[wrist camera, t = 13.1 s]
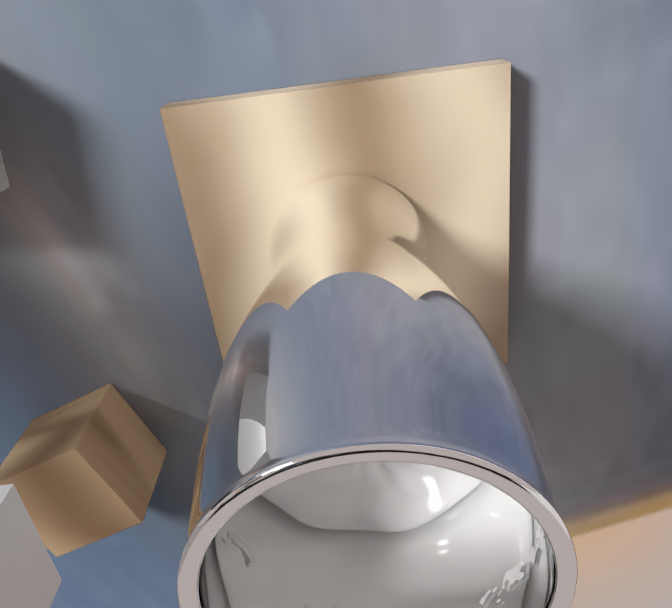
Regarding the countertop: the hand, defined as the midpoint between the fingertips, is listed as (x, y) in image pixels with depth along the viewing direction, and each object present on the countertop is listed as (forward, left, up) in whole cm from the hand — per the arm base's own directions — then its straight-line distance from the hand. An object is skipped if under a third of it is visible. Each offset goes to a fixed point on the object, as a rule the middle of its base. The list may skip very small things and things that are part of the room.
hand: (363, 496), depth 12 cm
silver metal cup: (0, 0, -13) cm, 13 cm away
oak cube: (-13, -9, -14) cm, 21 cm away
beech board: (0, 0, -14) cm, 14 cm away
